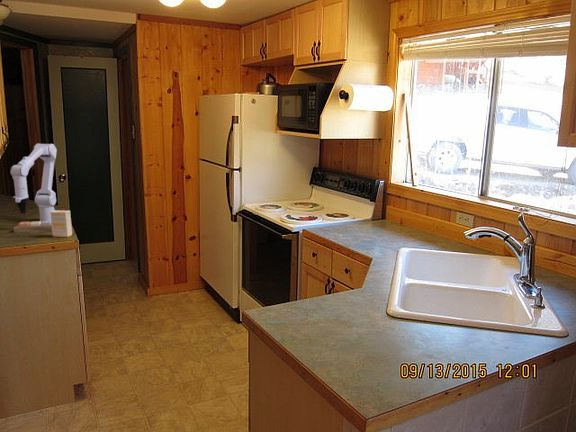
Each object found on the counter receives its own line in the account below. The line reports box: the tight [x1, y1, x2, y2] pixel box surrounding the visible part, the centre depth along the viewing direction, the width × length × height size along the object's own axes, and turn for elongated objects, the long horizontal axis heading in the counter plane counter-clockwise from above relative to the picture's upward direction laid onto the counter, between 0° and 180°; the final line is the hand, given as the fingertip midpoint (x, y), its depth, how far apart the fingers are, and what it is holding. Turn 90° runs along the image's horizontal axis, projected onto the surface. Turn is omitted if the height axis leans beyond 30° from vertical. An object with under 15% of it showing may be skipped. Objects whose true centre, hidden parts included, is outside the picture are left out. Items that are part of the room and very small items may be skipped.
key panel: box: [13, 221, 52, 234], centre depth 262 cm, size 13×18×2 cm
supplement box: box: [50, 209, 73, 238], centre depth 247 cm, size 8×5×13 cm, turn 84°
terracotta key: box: [18, 221, 31, 226], centre depth 260 cm, size 4×4×2 cm
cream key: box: [30, 220, 41, 226], centre depth 261 cm, size 4×4×2 cm
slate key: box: [42, 221, 52, 225], centre depth 263 cm, size 4×4×2 cm
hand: (23, 213), depth 259 cm, fingers closed
